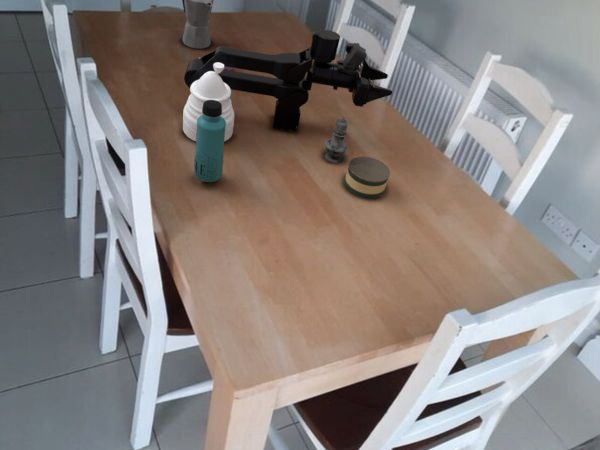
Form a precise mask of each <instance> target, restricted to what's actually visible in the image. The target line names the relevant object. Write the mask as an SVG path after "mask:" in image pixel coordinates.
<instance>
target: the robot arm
mask: <svg viewBox="0 0 600 450" xmlns="http://www.w3.org/2000/svg"><path fill="white" fill-rule="evenodd" d="M340 40H341V35H340V34H339V33H337V32H336V31H333V30H330V29H325V30H319V31H313V32H312V36H311V44H310V46H309V47H307V48H306V49H303V50H302V51H299V52H282V53H277V54H268V53H263V52H257V51H250V50H244V49H238V48H233V47H227V46H225V45H220V46H217V48H215V49H213V50H211V51H210V52H208V53H206V54H204V55H203V56H200V57H201V58H200V59H196V58H193V59H192V60H190V61H189V63H188V64H187V67H186V70H185V72H184V76H183V80H184V83H185V85H186V86H187V87H188V88H189V89H190V86H191V85H192V83H193V82H195V81H196V80H199V79H200V78H201V77H202V76H203V75H204V74H205V73H206V72H209V71H214V72H215V70H214V67H213V64H214V63H217V62H219V63H222V64H224V67H231V68H233V69H238V70H243V71H250V72H257V73H263V74H268V75H272V76H273V77H270V76H265V75H258V74H254V73H247V72H241V71H236V70H231V71H230V70H227V69H225V70H224V69H223V71H222V72H221V73H219V74H218V75H219V76H220V77H221V79H222V80H223V82H224V83H226V84H227V85H228V86H229V87H230V89H231V91H238V92H242V93H250V94H256V95H261V96H269V97H273V98H275V99H276V100H275V107H274V114H273V115H272V129H273V130H279V131H287V132H293V133H294V132H295V133H296V132H297V129H298V127H299V126H300V125H299V124H300V119H301V115H302V114H301V112H302V111H301V107H302V106H304V105H305V104H306V103H307V102H308V101H309V98H310V94H309V93H310V92H309V91H311V90H312V87H313V84H318V85H322V86H323V85H324V86H330V87H332V89H333V91H338V88H340V89H346V90H347V91H348V93H351V99H352V103H353V104H354V106H356V107H360V108H363V107H364V105H367V104H368V103H370V102H373V101H376V100H379V99H383V98H385V97H386V98H387V97H389V96H392V95H393V90H392V89H389V88H387V87H383V86H379V85H376V84H374V83H373V82H372V81H379V80H386V79H388V77H389V75H388V73H386V72H384V71H382V70H380V69H378V68H376V67H374V66H373V65H371V64H369V62H368V60H367V57H368V54H367V49H366V48H365V47H362V46H361V44H360V43H359V42H357V43H356V42H353V43H351V42H348V43H347V44H346V46H344V49H345V53H346V54H345V58H344V60H340V59H339V60H337V61H336V63H334V62H333V61H334V60H336V57H337V54H338V53H337V52H338V49H339V45H340Z"/></svg>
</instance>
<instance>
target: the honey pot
mask: <svg viewBox="0 0 600 450" xmlns="http://www.w3.org/2000/svg"><path fill="white" fill-rule="evenodd" d="M213 67H214V70H215V72H214V71H209V72H206V73H205V74H204V75H203V76H202V77H201V78H200V79H199V80H196V81H195V82H193V83H192V85H191V86H190V88H189V91H190V94H189V96H188V97H187V101H186V104H184V107H183V111H182V112H183V115H182V130H183V133H184V135H185V136H186V137H187V138H189V139H190V140H191V141H193V142H196V135H197V119H198V118H199V117H200V116H201V115H203V113H202V108H203V103H204V102H205V101H207V100H216V101H219V102H220V103H221V105H222V114H221V115H220V116H221V117H222V118H224V120H225V121H226V126H225V138H224V143H225V142H226V141H228V140H229V139H230V138H232V136H233V134H234V125H235V110H234V109H233V105H232V104H233V103H232V100H231V98H230V97H231V95H232V90H231V89H230V87H229V86H228V85H227V84H226V83H224V82H223V80H222V79H221V77H220V76H219V75H218V74H219V73H221V72H222V71H223V69H224V64H222V63H219V62H217V63H214V64H213Z"/></svg>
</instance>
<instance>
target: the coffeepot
mask: <svg viewBox="0 0 600 450" xmlns="http://www.w3.org/2000/svg"><path fill="white" fill-rule="evenodd" d="M213 5H214V0H182V8H183V13H184V14H185V18H186V21H185V25H184V28H183V34H182V38H181V39H182V40H181V41H182V43H183V44H184V45H185V47H188V48H191V49H196V50H203V49H207V48H209V47H210V45H212V43H211V34H210V26H209V21H210V19H211V15H212V11H213Z"/></svg>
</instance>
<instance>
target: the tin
mask: <svg viewBox="0 0 600 450" xmlns="http://www.w3.org/2000/svg"><path fill="white" fill-rule="evenodd" d="M390 176H391V170H390V168H389V167H388V166H387V164H385V163H384V162H383V161H381V160H379V159H377V158H374V157H370V156H357V157H354V158H352V159H351V160H350V161H349V163H348V167H347V170H346V174H345V177H344V178H345V179H344V185H345V187H346V189H347V190H348V191H349V192H350V193H351V194H353V195H355V196H357V197H360V198H364V199H376V198H379V197H381V196H382V195H383V194H384V193H385V190H386V186H387V185H388V181H389V178H390Z"/></svg>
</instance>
